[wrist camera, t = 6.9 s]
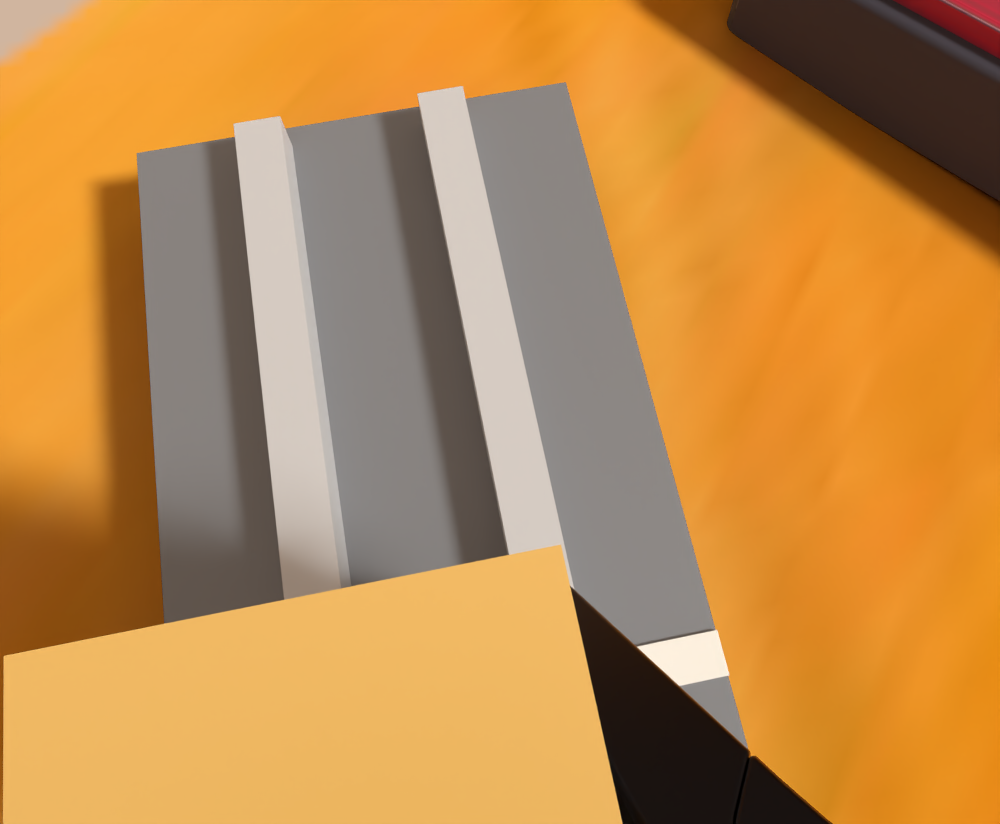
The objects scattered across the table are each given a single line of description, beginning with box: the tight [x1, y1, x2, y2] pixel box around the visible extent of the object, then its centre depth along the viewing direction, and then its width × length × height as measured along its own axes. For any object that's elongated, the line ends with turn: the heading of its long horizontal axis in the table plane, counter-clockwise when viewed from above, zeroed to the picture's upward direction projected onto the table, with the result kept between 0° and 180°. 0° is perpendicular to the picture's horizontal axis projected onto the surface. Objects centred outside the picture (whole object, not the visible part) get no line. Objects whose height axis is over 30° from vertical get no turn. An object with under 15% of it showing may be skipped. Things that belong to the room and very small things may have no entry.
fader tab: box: [3, 545, 623, 824], centre depth 8 cm, size 3×3×10 cm
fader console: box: [137, 82, 748, 749], centre depth 15 cm, size 18×10×3 cm, turn 11°
